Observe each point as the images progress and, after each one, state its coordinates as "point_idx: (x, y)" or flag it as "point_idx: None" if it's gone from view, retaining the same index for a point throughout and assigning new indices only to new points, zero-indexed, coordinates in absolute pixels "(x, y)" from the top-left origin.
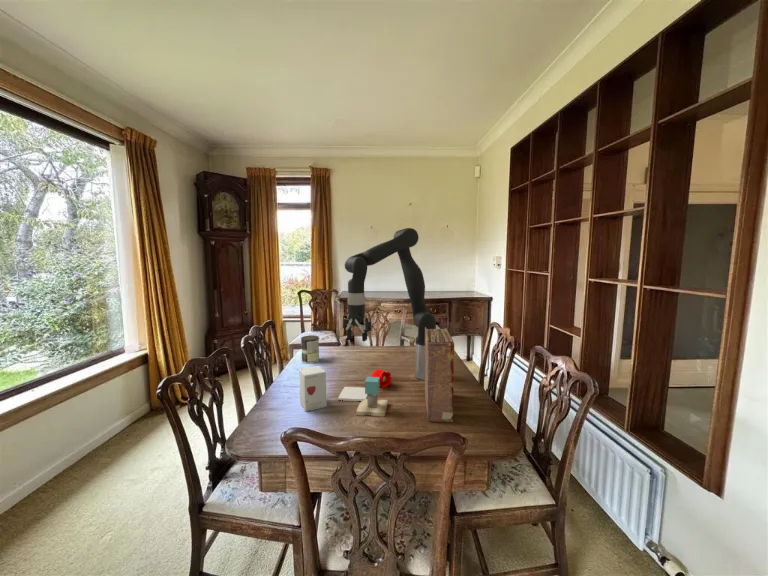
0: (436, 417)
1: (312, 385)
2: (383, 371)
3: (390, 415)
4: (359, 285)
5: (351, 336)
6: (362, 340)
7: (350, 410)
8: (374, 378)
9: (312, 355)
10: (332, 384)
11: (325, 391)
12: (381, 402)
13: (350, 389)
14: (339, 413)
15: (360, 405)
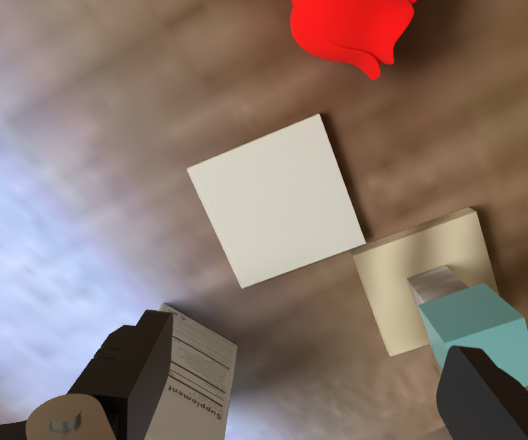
0: None
1: None
2: (390, 5)
3: (517, 293)
4: None
5: (166, 322)
6: (445, 414)
7: (344, 328)
8: (501, 345)
9: None
10: (93, 147)
11: (230, 394)
12: (457, 247)
13: (235, 181)
14: (317, 363)
15: (381, 311)
